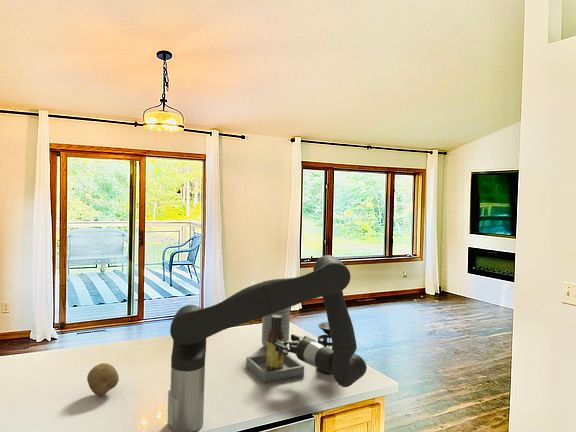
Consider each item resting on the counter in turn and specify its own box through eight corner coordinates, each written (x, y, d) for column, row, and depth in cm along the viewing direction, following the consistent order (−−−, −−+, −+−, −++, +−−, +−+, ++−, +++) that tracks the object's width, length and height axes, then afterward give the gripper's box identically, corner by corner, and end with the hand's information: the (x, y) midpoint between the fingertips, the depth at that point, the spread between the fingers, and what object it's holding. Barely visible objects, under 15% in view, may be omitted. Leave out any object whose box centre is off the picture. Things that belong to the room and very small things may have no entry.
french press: (319, 375, 152) (322, 313, 151) (310, 365, 161) (313, 307, 160) (348, 373, 156) (351, 312, 155) (338, 363, 165) (341, 305, 164)
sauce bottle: (280, 373, 151) (283, 319, 150) (264, 371, 152) (266, 318, 151) (284, 366, 157) (286, 314, 157) (268, 364, 159) (270, 313, 158)
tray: (264, 383, 144) (264, 374, 144) (246, 366, 158) (246, 357, 158) (303, 375, 152) (304, 366, 152) (283, 359, 166) (283, 351, 166)
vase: (257, 350, 175) (259, 296, 174) (266, 341, 186) (268, 290, 185) (283, 354, 172) (285, 299, 170) (291, 345, 183) (293, 293, 182)
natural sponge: (109, 385, 139) (110, 356, 138) (123, 394, 133) (124, 363, 132) (82, 395, 132) (82, 364, 131) (95, 404, 126) (96, 372, 125)
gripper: (328, 338, 143) (297, 325, 156) (297, 346, 134) (267, 332, 147) (327, 359, 143) (297, 345, 156) (296, 369, 134) (266, 353, 147)
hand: (282, 339), depth 151 cm, fingers open, 8 cm apart
